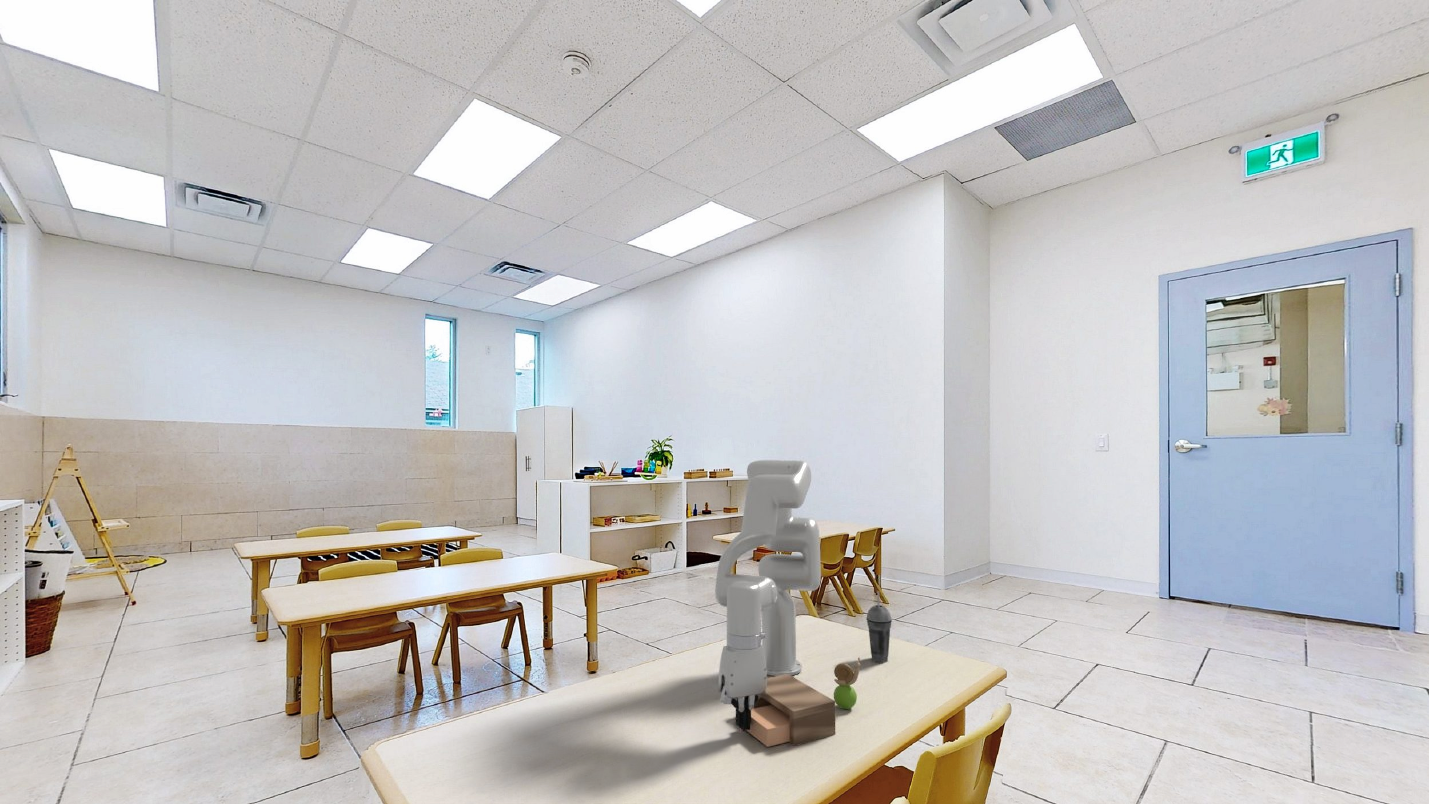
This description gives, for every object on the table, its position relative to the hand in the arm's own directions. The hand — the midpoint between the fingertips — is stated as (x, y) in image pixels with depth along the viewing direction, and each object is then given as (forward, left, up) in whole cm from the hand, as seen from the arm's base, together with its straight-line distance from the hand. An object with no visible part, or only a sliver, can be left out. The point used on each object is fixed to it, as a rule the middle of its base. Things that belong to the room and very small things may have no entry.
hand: (743, 727), depth 132 cm
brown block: (-1, +12, -2) cm, 13 cm away
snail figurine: (-1, +29, -2) cm, 29 cm away
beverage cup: (-22, +59, -2) cm, 63 cm away
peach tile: (+2, +9, -2) cm, 9 cm away
